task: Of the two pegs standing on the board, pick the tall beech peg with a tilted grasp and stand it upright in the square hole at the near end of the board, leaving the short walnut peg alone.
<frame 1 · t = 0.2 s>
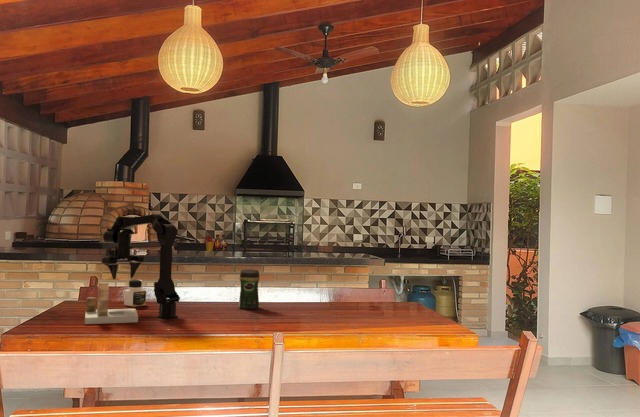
hand: (123, 278, 253), 14 cm above the table, tool pointing down, fingers open, 9 cm apart
tall beech peg: (102, 315, 228), point 3 cm above the table, touching hole board
coffee jar: (248, 308, 269), on the table
hole board: (111, 319, 233), on the table
short walnut peg: (90, 311, 235), point 2 cm above the table, touching hole board
medicine bottle: (134, 305, 266), on the table
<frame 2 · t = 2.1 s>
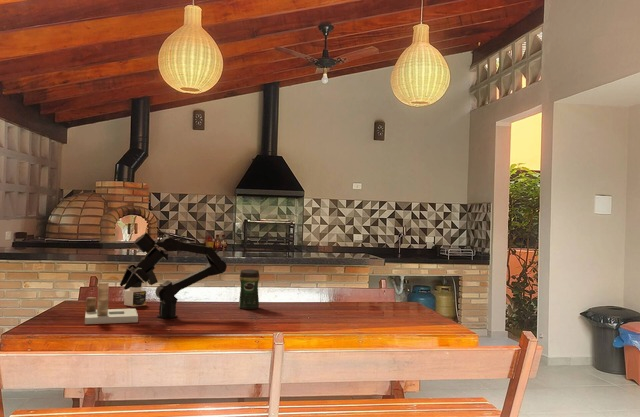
hand: (122, 287, 231), 14 cm above the table, tool tilted 45°, fingers open, 9 cm apart
nothing on the table moved.
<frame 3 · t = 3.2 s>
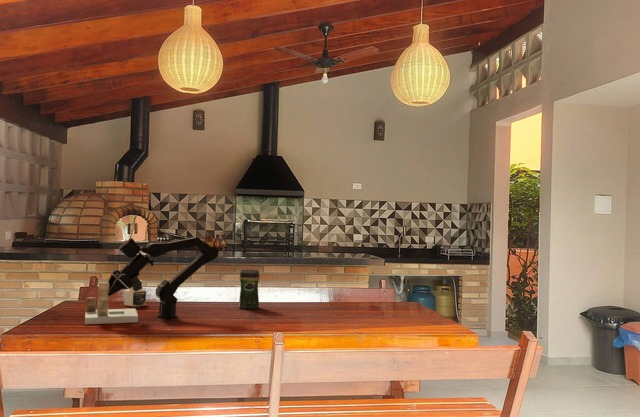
hand: (106, 293, 228), 11 cm above the table, tool tilted 45°, fingers open, 9 cm apart
nothing on the table moved.
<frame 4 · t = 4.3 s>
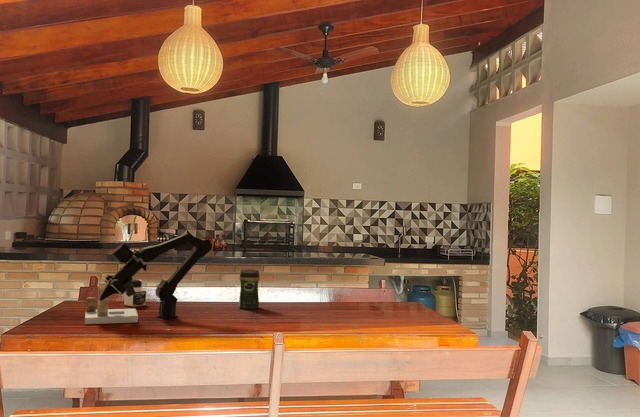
hand: (99, 299, 227), 9 cm above the table, tool tilted 45°, fingers closed on tall beech peg, 4 cm apart
tall beech peg: (102, 315, 228), point 3 cm above the table, touching gripper, hole board
everything else where it was.
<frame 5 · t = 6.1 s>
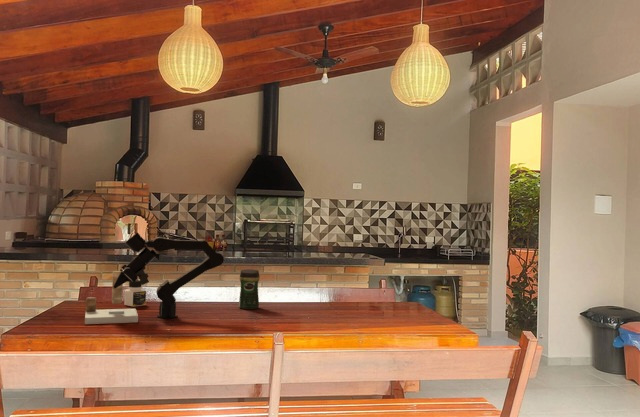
hand: (113, 287, 233), 13 cm above the table, tool tilted 45°, fingers closed on tall beech peg, 4 cm apart
tall beech peg: (117, 302, 233), point 7 cm above the table, touching gripper
everything else where it was.
when the fingers open (8 cm above the table, at t = 7.7 s): tall beech peg drops 1 cm, resting in hole board.
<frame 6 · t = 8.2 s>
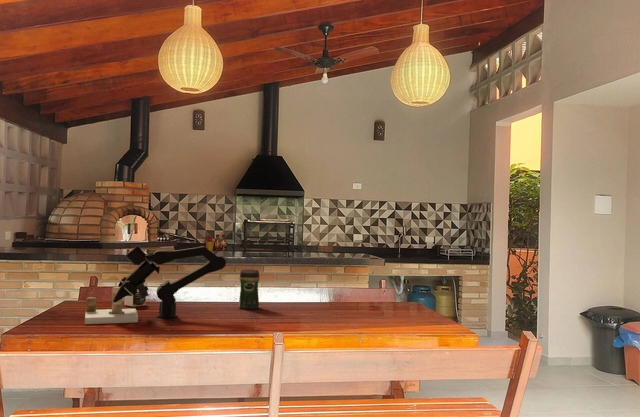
hand: (113, 300, 233), 8 cm above the table, tool tilted 45°, fingers open, 9 cm apart
tall beech peg: (116, 318, 233), resting in hole board
everything else where it was.
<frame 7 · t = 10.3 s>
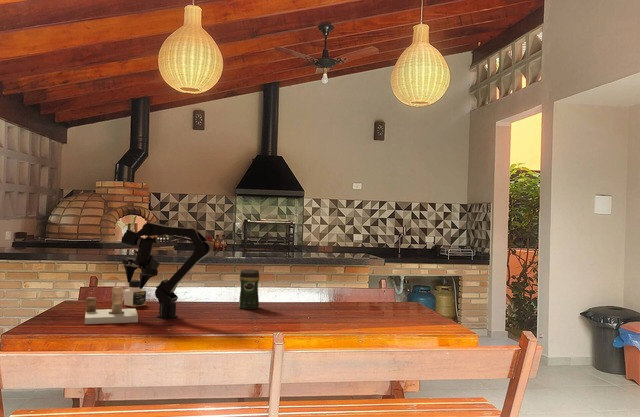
hand: (134, 285, 241), 13 cm above the table, tool pointing down, fingers open, 9 cm apart
nothing on the table moved.
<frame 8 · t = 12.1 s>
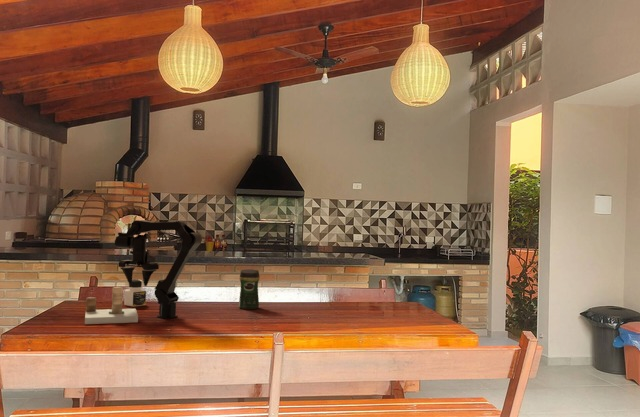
hand: (137, 284, 244), 13 cm above the table, tool pointing down, fingers open, 9 cm apart
nothing on the table moved.
at the end: tall beech peg 0.1 cm from the target spot, resting in hole board; tall beech peg tilted 0°; the gripper is holding nothing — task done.
